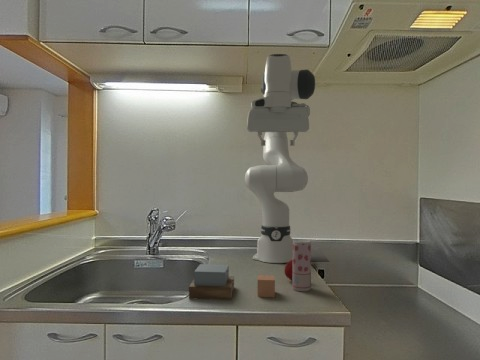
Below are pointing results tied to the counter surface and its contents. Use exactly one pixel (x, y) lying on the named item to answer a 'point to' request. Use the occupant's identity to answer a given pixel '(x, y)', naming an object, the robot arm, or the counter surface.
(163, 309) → the counter surface
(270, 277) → the rust cube
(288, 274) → the onion
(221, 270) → the grey block
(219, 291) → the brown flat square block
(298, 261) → the beverage can
